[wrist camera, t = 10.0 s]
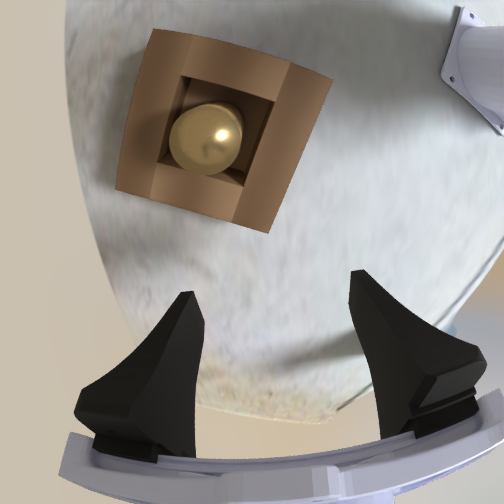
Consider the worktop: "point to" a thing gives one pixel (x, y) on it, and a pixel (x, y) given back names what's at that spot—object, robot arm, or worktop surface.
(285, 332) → the worktop surface
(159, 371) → the robot arm
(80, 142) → the worktop surface
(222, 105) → the bronze pin
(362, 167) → the worktop surface
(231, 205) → the hole block
